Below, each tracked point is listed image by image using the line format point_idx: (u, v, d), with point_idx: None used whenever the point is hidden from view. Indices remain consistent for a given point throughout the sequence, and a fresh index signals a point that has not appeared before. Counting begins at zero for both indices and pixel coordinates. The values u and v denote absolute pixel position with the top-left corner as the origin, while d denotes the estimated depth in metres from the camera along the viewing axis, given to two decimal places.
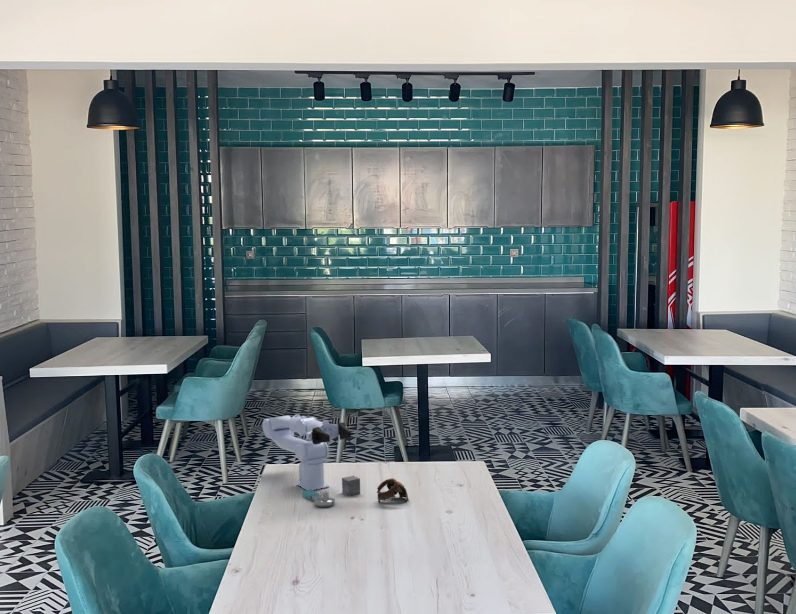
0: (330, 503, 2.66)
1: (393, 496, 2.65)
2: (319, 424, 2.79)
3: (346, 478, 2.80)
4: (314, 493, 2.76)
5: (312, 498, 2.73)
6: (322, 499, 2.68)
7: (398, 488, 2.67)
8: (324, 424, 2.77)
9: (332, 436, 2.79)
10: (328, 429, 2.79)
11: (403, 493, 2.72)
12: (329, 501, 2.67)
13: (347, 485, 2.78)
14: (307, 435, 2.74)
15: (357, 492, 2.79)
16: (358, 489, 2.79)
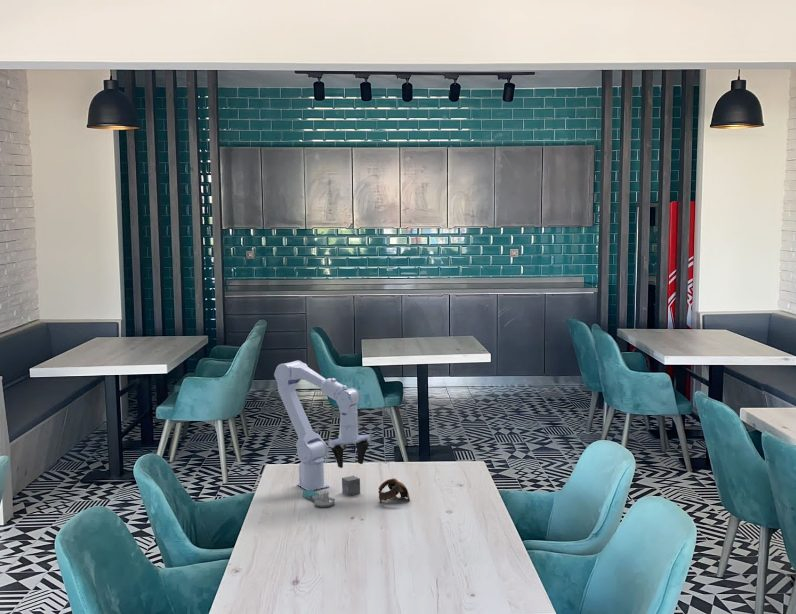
0: (330, 503, 2.66)
1: (394, 496, 2.65)
2: (349, 434, 2.76)
3: (346, 478, 2.80)
4: (314, 493, 2.76)
5: (312, 498, 2.73)
6: (322, 499, 2.68)
7: (399, 488, 2.67)
8: None
9: None
10: None
11: (404, 493, 2.72)
12: (329, 501, 2.67)
13: (347, 485, 2.78)
14: (330, 444, 2.75)
15: (357, 492, 2.79)
16: (358, 489, 2.79)
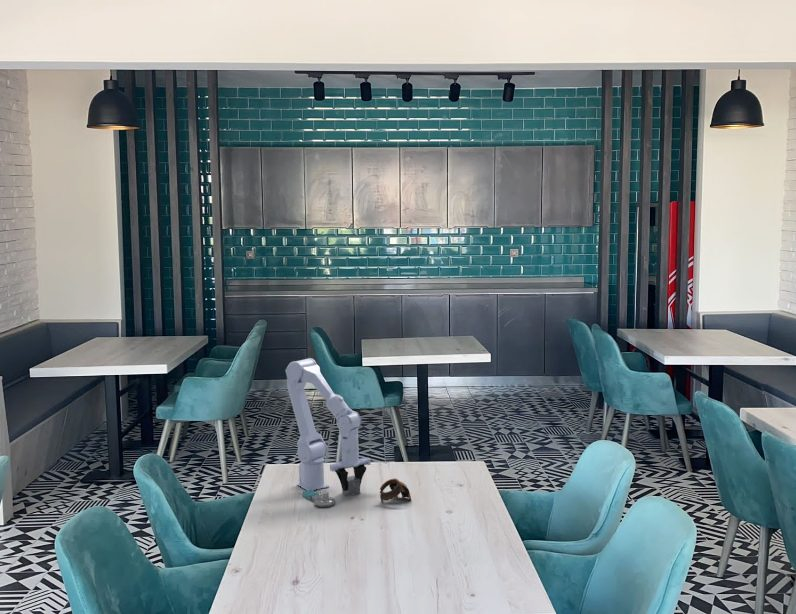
0: (330, 503, 2.66)
1: (396, 496, 2.65)
2: (350, 458, 2.77)
3: None
4: (314, 493, 2.76)
5: (312, 498, 2.73)
6: (322, 499, 2.68)
7: (401, 488, 2.67)
8: (352, 466, 2.77)
9: None
10: None
11: (406, 493, 2.72)
12: (329, 501, 2.67)
13: (347, 485, 2.78)
14: (331, 468, 2.76)
15: (357, 492, 2.79)
16: (358, 489, 2.79)
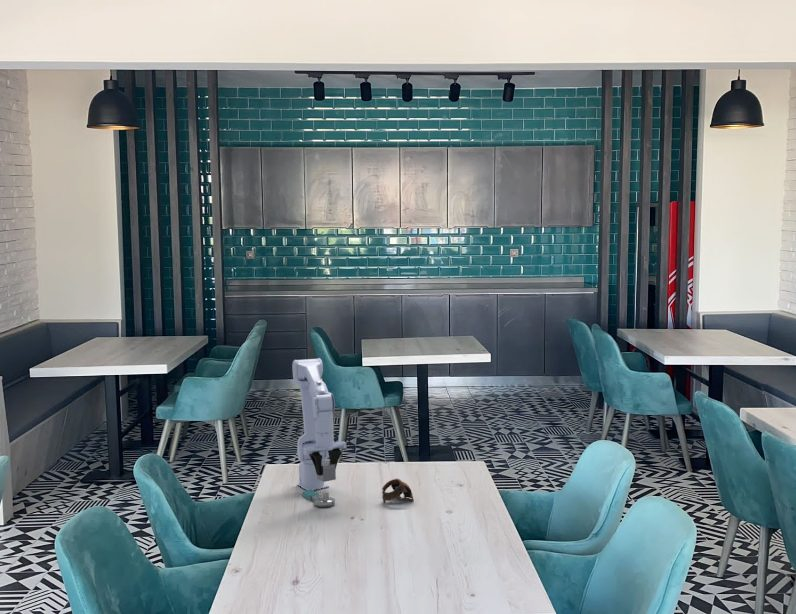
0: (330, 503, 2.66)
1: (398, 496, 2.65)
2: (325, 441, 2.65)
3: (321, 463, 2.68)
4: (314, 493, 2.76)
5: (312, 498, 2.73)
6: (322, 499, 2.68)
7: (403, 488, 2.67)
8: (327, 449, 2.65)
9: None
10: None
11: (408, 493, 2.72)
12: (329, 501, 2.67)
13: (322, 470, 2.66)
14: (305, 451, 2.64)
15: (332, 478, 2.67)
16: (333, 475, 2.68)
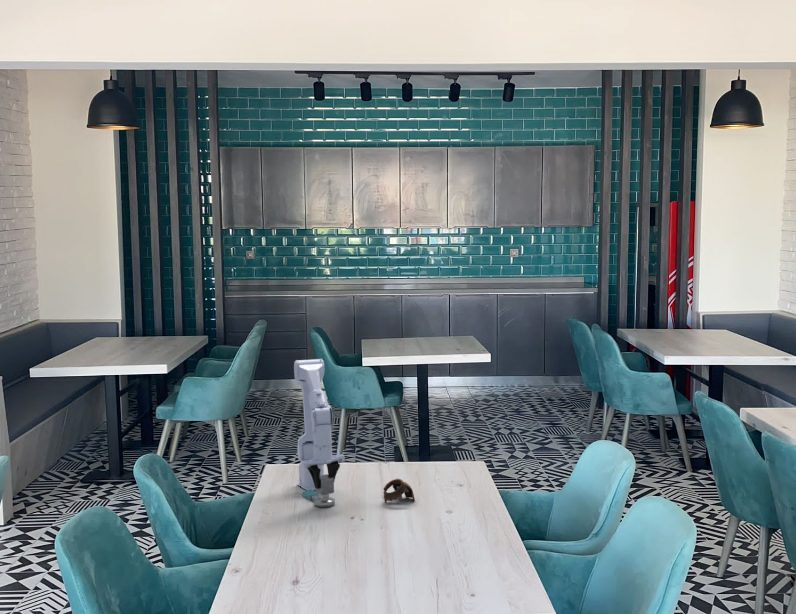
0: (330, 503, 2.66)
1: (400, 496, 2.65)
2: (323, 454, 2.65)
3: None
4: (314, 493, 2.76)
5: (312, 498, 2.73)
6: (322, 499, 2.68)
7: (405, 488, 2.67)
8: (325, 462, 2.65)
9: None
10: None
11: (409, 493, 2.72)
12: (329, 501, 2.67)
13: (320, 484, 2.65)
14: (303, 465, 2.63)
15: (331, 491, 2.67)
16: (332, 488, 2.67)
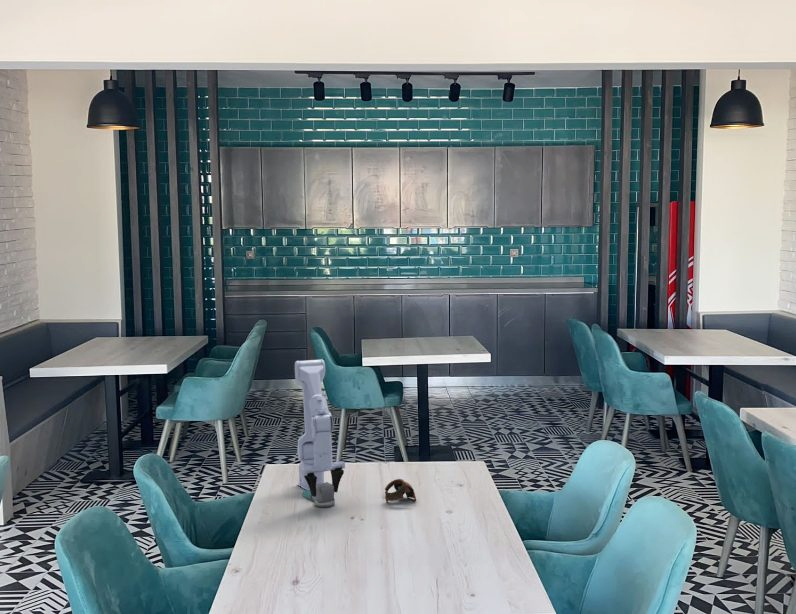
0: (330, 503, 2.66)
1: (401, 496, 2.65)
2: (323, 462, 2.65)
3: (319, 485, 2.68)
4: None
5: (312, 498, 2.73)
6: None
7: (406, 488, 2.66)
8: (325, 470, 2.65)
9: None
10: None
11: (410, 493, 2.72)
12: None
13: (320, 492, 2.65)
14: (303, 472, 2.64)
15: (331, 499, 2.67)
16: (332, 496, 2.67)
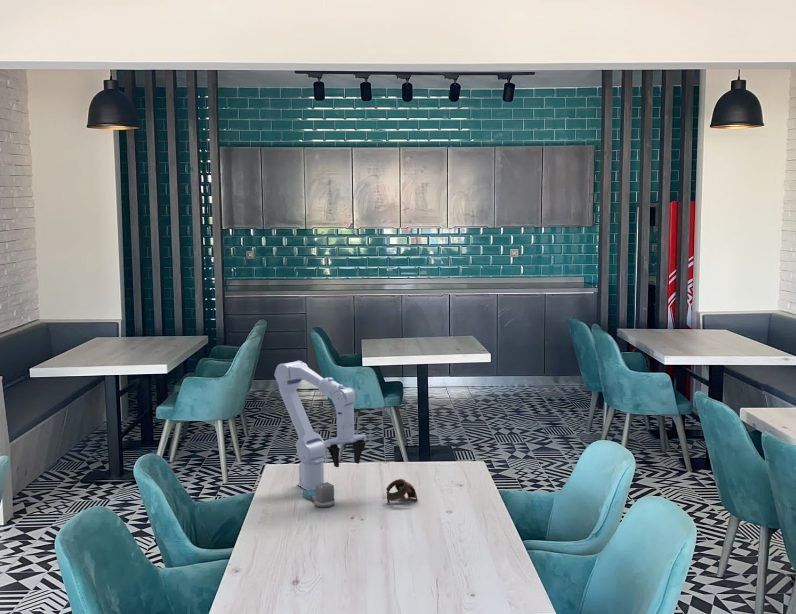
0: (330, 503, 2.66)
1: (403, 497, 2.65)
2: (346, 433, 2.75)
3: (319, 485, 2.68)
4: (314, 493, 2.76)
5: (312, 498, 2.73)
6: None
7: (408, 488, 2.66)
8: (348, 441, 2.75)
9: None
10: None
11: (412, 493, 2.72)
12: None
13: (320, 492, 2.65)
14: (326, 443, 2.74)
15: (331, 499, 2.67)
16: (332, 496, 2.67)
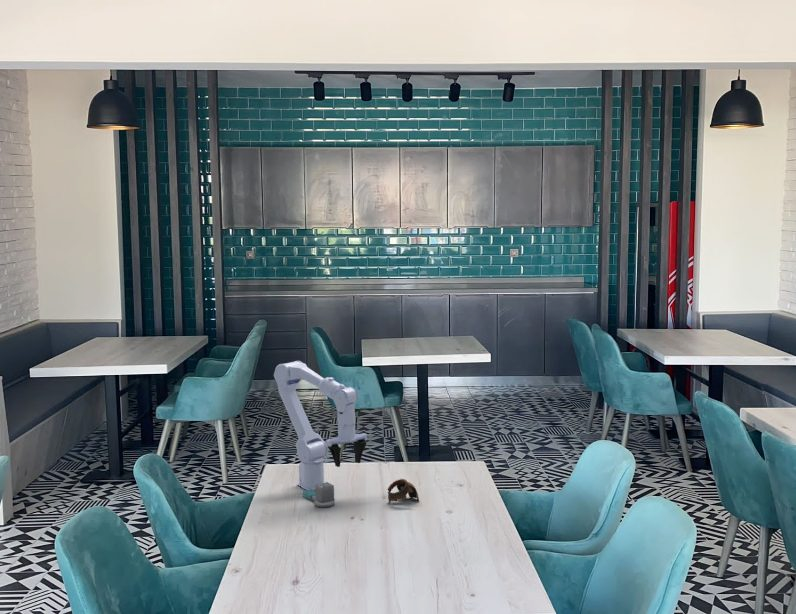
0: (330, 503, 2.66)
1: (404, 497, 2.65)
2: (347, 433, 2.76)
3: (319, 485, 2.68)
4: (314, 493, 2.76)
5: (312, 498, 2.73)
6: None
7: (409, 488, 2.66)
8: None
9: None
10: None
11: (413, 493, 2.72)
12: None
13: (320, 492, 2.65)
14: (327, 443, 2.75)
15: (331, 499, 2.67)
16: (332, 496, 2.67)
